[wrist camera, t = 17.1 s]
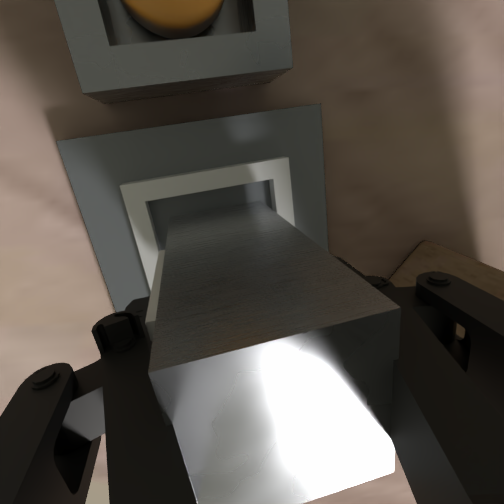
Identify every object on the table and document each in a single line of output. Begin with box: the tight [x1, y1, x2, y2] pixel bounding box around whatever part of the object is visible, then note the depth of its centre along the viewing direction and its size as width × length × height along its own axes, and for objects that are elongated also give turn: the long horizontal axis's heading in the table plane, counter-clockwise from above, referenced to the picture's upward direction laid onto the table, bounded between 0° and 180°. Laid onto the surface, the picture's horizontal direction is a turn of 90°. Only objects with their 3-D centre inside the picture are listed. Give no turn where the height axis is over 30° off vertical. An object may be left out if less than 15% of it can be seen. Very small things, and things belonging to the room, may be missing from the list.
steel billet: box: [148, 200, 401, 504], centre depth 12 cm, size 5×5×12 cm
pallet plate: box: [56, 103, 329, 312], centre depth 19 cm, size 14×14×2 cm
